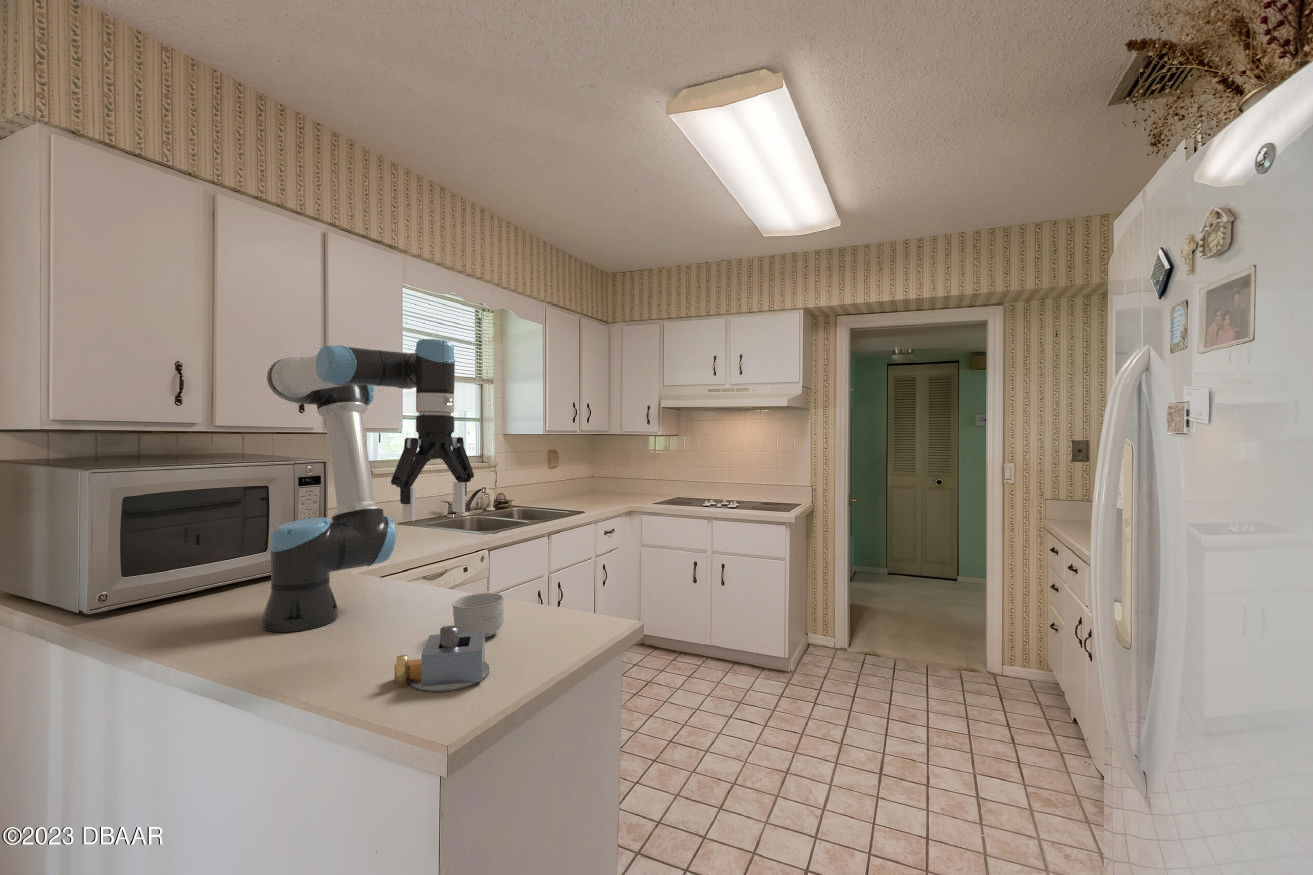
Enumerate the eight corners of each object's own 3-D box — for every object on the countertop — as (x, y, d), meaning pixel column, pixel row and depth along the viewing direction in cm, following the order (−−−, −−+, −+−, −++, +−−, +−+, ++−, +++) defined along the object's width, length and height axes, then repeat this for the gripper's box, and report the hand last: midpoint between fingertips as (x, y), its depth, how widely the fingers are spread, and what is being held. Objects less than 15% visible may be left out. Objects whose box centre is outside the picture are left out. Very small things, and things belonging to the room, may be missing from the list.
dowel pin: (394, 686, 103) (394, 657, 103) (403, 682, 105) (403, 654, 105) (401, 688, 103) (401, 659, 103) (410, 684, 104) (410, 655, 104)
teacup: (489, 645, 123) (489, 607, 123) (442, 641, 125) (442, 603, 125) (518, 624, 137) (518, 589, 137) (475, 620, 139) (475, 586, 139)
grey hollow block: (484, 659, 114) (484, 631, 114) (481, 681, 104) (481, 650, 104) (401, 666, 111) (401, 637, 110) (390, 689, 101) (390, 657, 101)
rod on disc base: (390, 682, 105) (390, 634, 105) (449, 655, 118) (449, 612, 117) (449, 698, 99) (449, 647, 99) (505, 668, 111) (505, 622, 111)
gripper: (398, 412, 111) (398, 525, 111) (490, 415, 133) (490, 509, 134) (371, 412, 114) (371, 522, 115) (465, 415, 137) (464, 507, 137)
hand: (435, 516), depth 124 cm, fingers open, 13 cm apart
